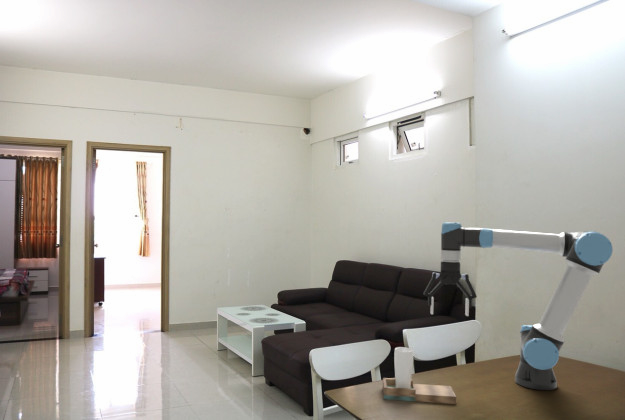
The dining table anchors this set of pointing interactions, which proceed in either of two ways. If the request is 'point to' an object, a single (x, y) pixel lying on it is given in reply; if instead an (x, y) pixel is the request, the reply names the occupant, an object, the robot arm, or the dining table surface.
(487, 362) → the dining table surface
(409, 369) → the white cylinder
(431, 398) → the rail board
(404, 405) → the dining table surface
